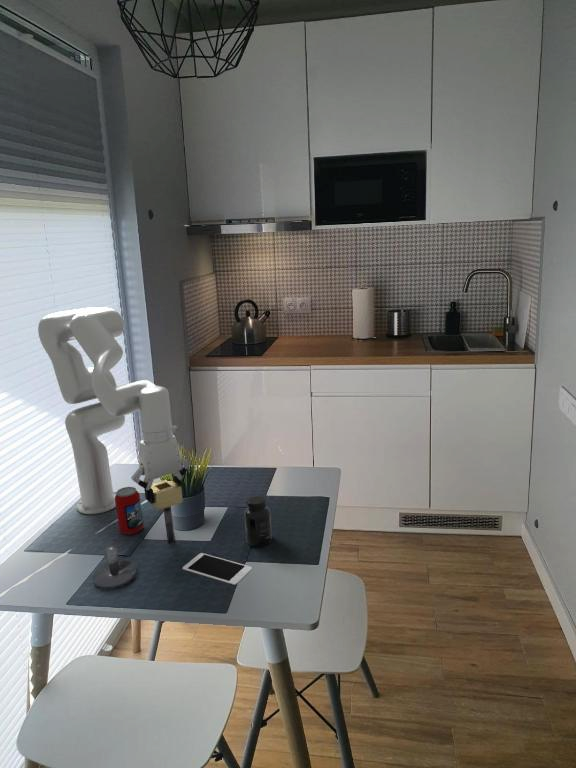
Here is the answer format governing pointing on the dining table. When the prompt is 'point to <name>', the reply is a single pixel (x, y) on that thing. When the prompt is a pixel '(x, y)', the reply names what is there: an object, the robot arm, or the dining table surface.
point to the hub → (114, 572)
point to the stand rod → (169, 524)
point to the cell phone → (217, 568)
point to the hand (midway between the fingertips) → (164, 496)
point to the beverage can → (129, 510)
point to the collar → (166, 494)
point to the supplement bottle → (257, 522)
